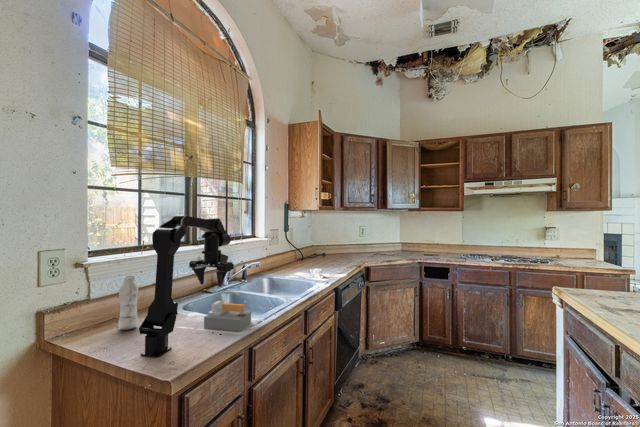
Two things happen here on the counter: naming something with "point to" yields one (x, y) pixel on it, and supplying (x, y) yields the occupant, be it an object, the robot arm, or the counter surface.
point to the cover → (216, 309)
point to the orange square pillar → (234, 307)
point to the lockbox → (228, 321)
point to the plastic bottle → (128, 304)
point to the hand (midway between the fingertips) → (210, 285)
